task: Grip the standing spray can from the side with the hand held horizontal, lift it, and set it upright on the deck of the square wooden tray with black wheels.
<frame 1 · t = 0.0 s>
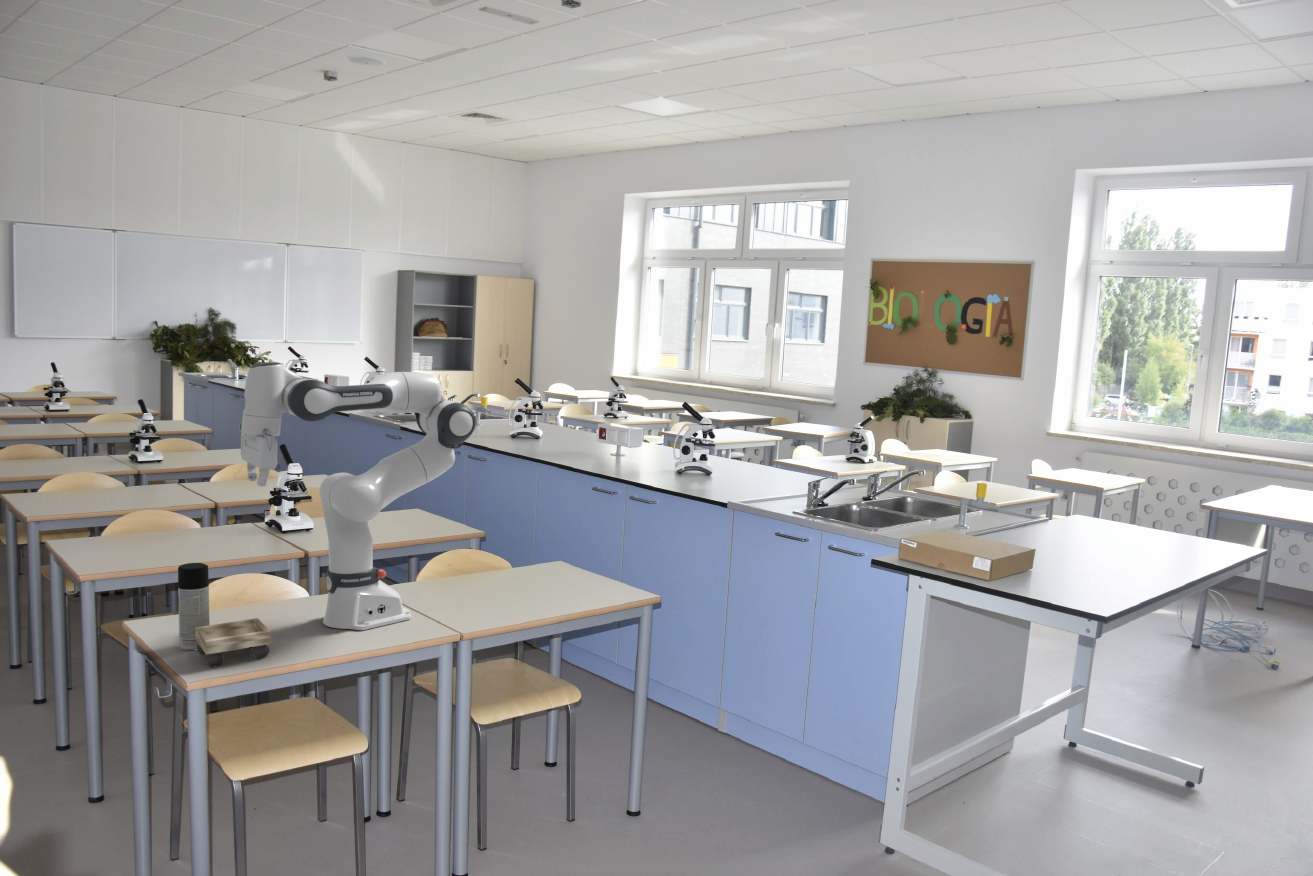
hand: (256, 483, 234), 39 cm above the table, tool pointing down, fingers open, 8 cm apart
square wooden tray: (232, 642, 223), point 3 cm above the table, slide at 0.0 cm
spray can: (195, 647, 229), on the table
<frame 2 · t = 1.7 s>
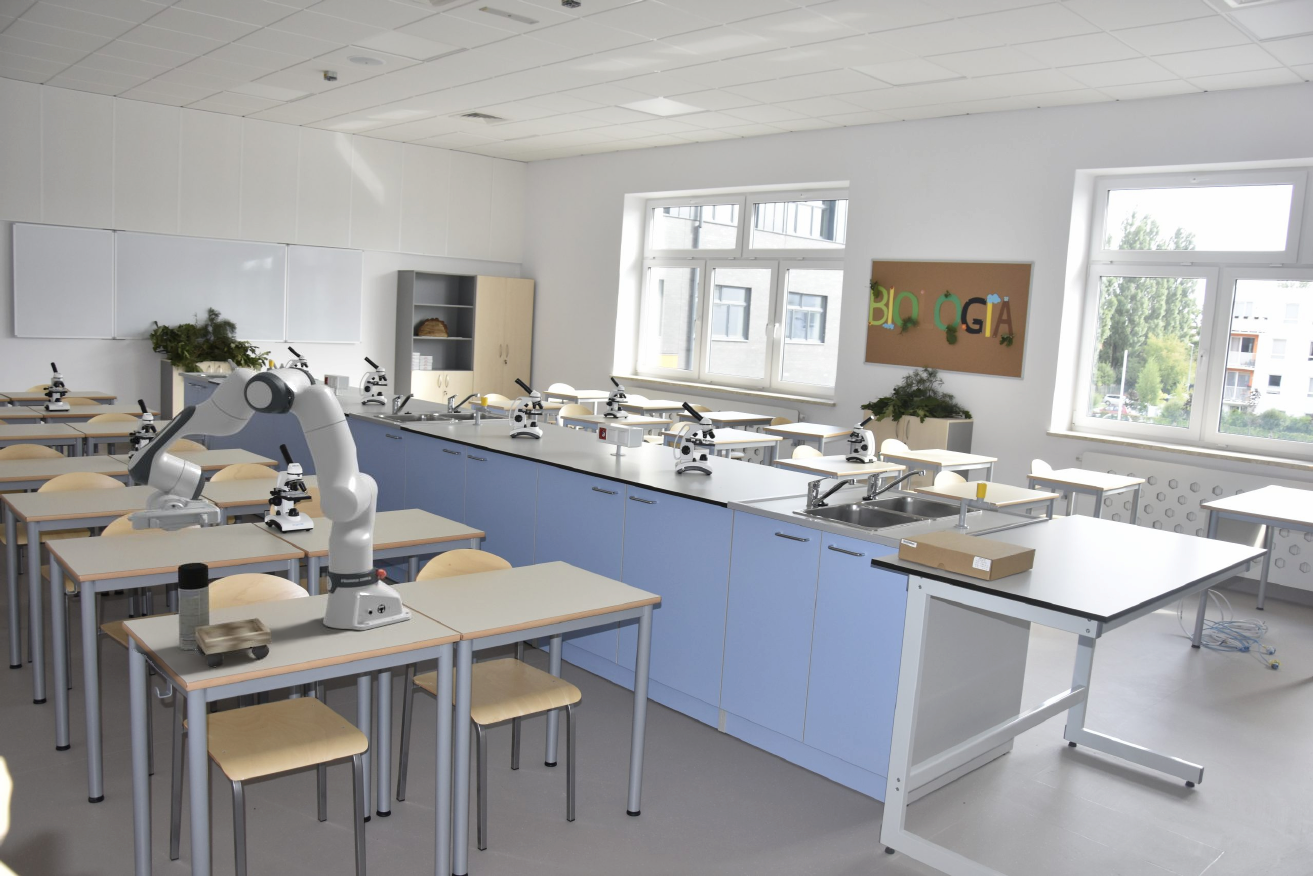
hand: (181, 523, 236), 28 cm above the table, tool horizontal, fingers open, 8 cm apart
nothing on the table moved.
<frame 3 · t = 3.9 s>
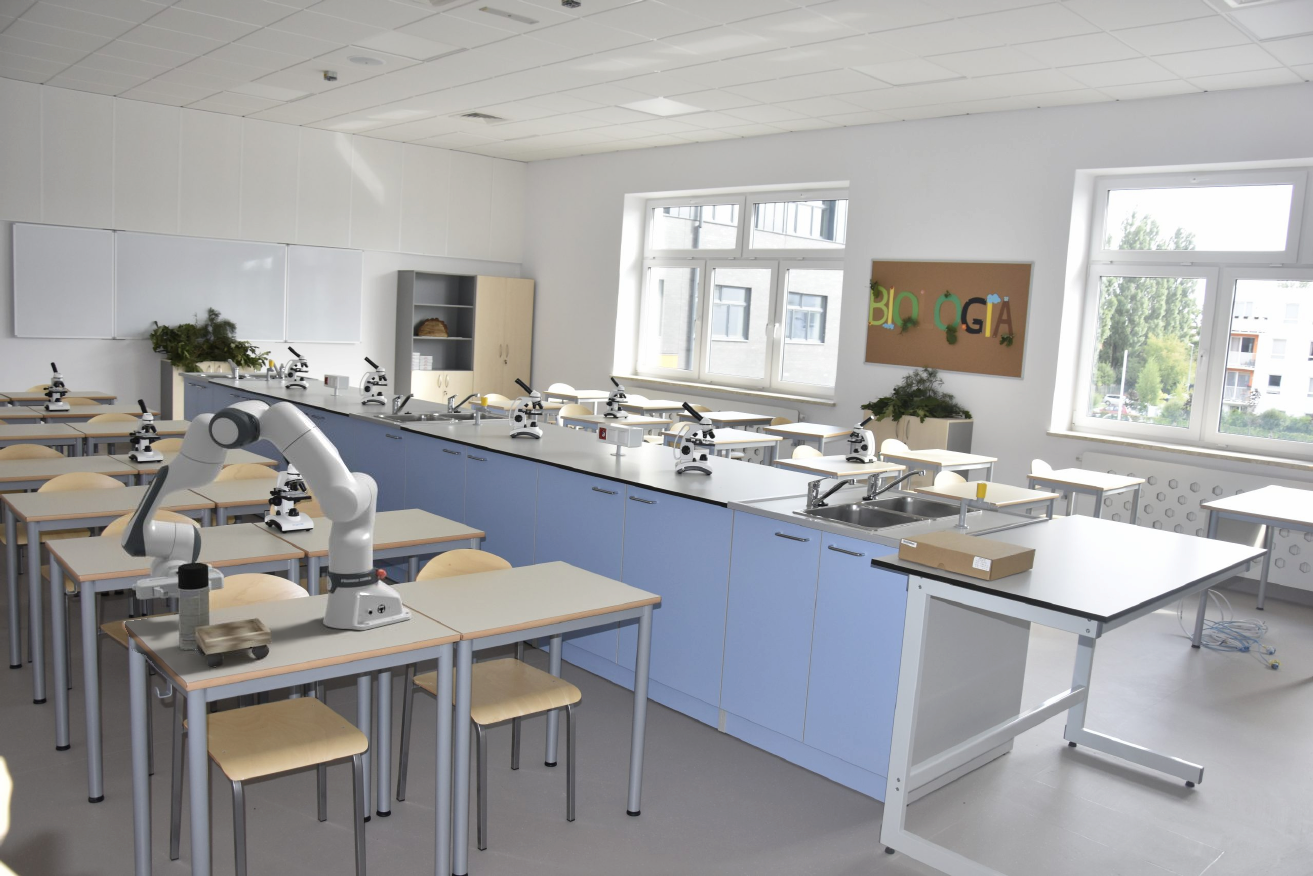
hand: (185, 592, 236), 11 cm above the table, tool horizontal, fingers open, 8 cm apart
nothing on the table moved.
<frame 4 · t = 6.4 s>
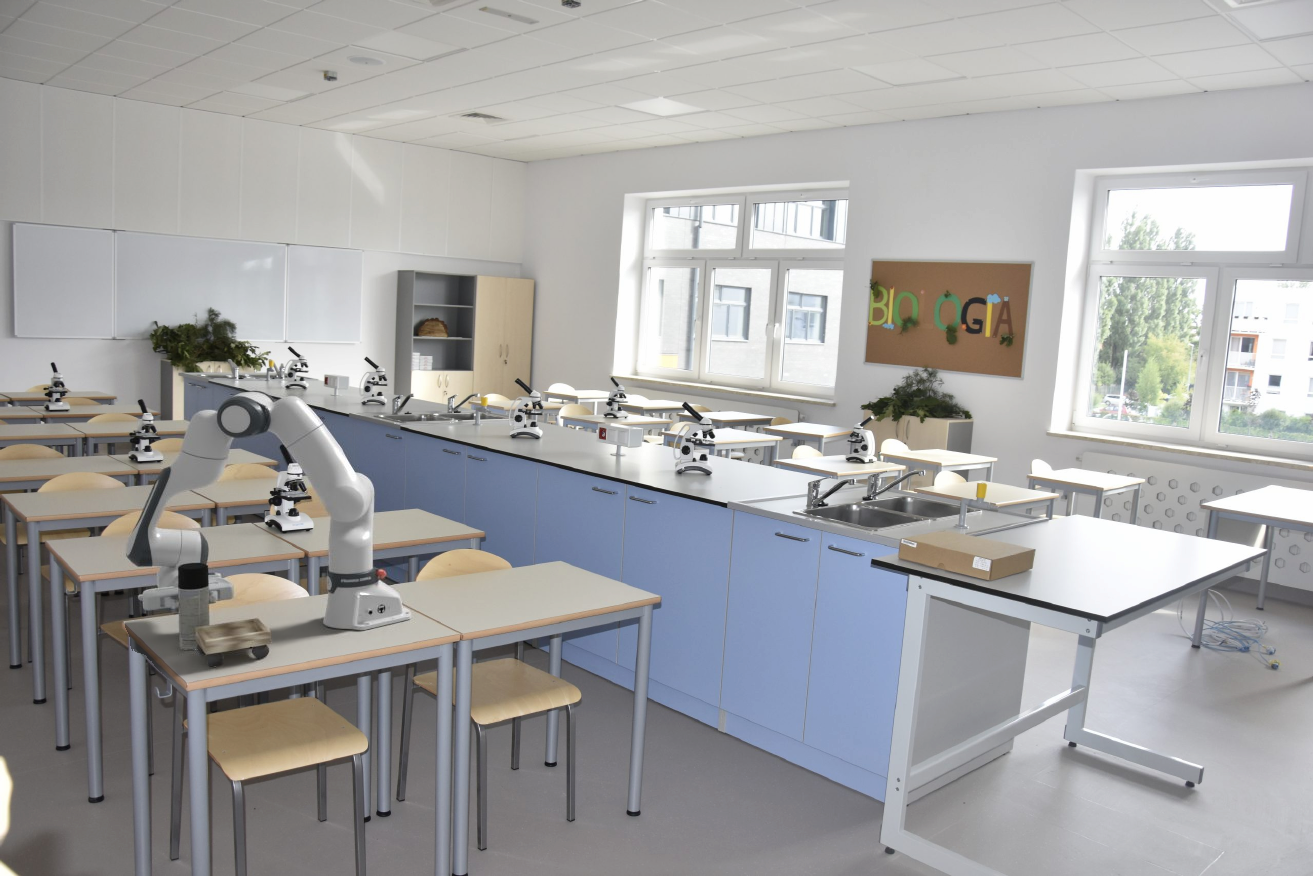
hand: (194, 602, 227), 11 cm above the table, tool horizontal, fingers closed on spray can, 7 cm apart
spray can: (195, 647, 229), on the table, touching gripper
everything else where it was.
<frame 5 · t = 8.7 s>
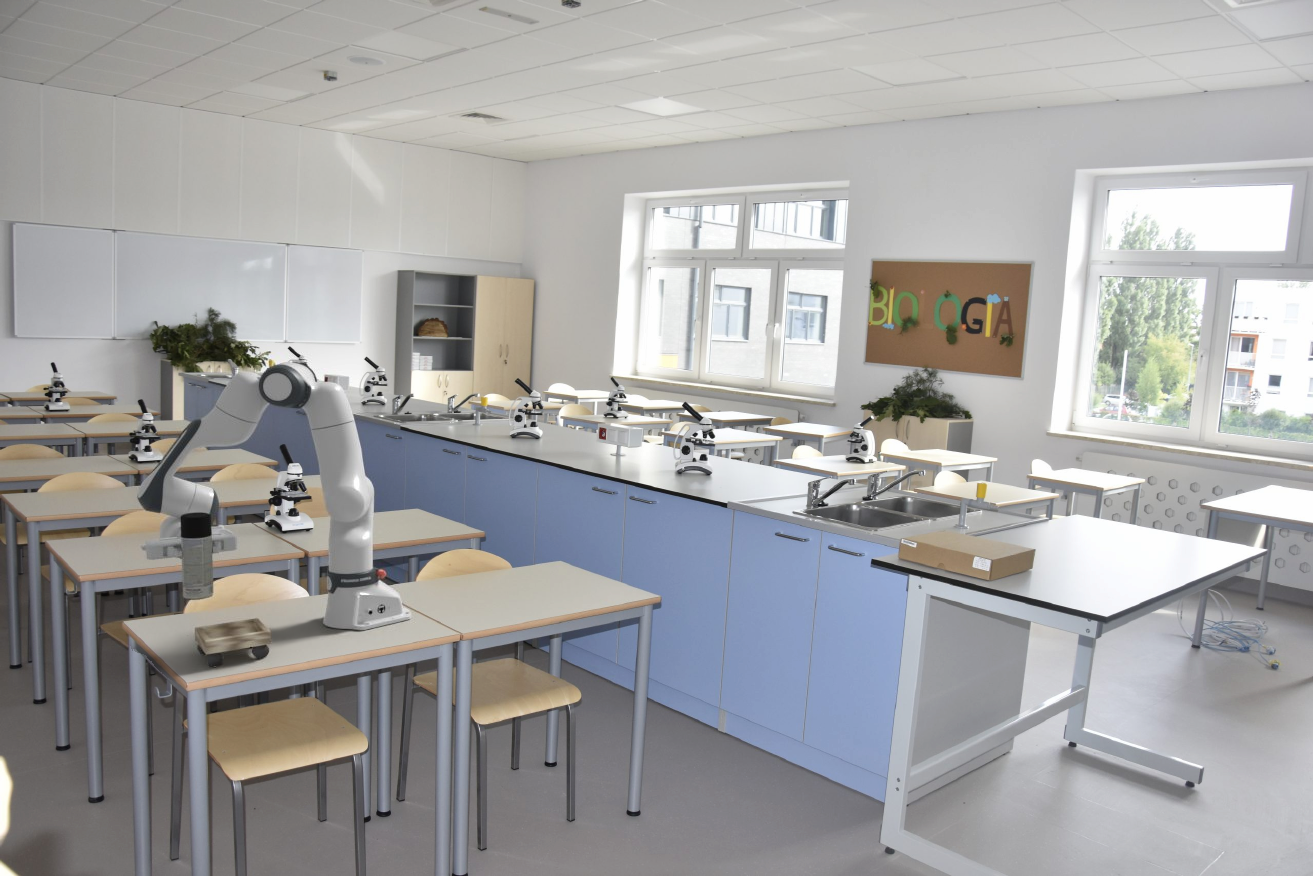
hand: (197, 552, 225), 24 cm above the table, tool horizontal, fingers closed on spray can, 7 cm apart
spray can: (198, 597, 227), point 12 cm above the table, touching gripper
everything else where it was.
when the fingers open (17 cm above the table, at t = 11.5 s): spray can drops 1 cm, resting on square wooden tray.
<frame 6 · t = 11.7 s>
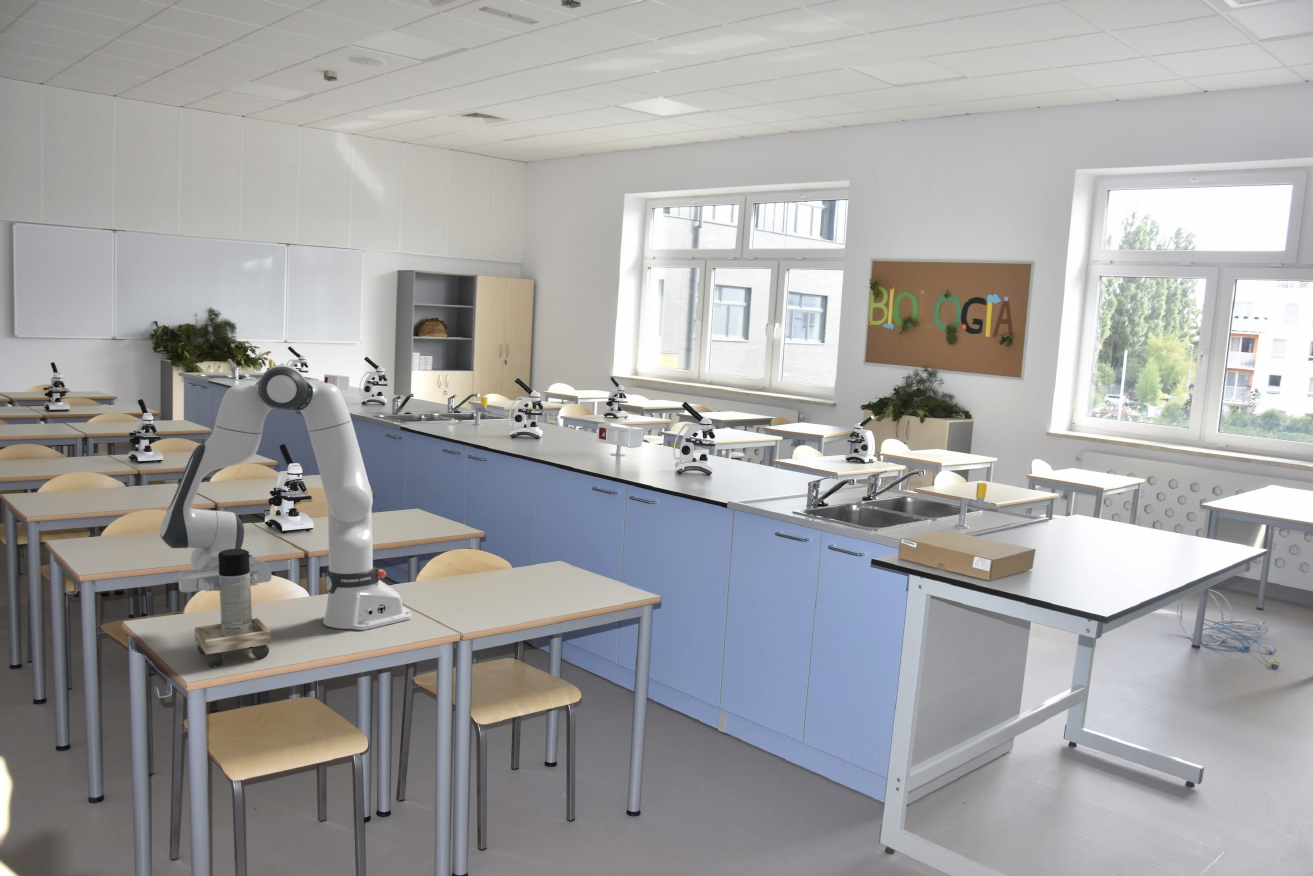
hand: (232, 584, 221), 17 cm above the table, tool horizontal, fingers open, 8 cm apart
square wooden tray: (232, 642, 223), point 3 cm above the table, slide at 0.0 cm, touching spray can
spray can: (237, 635, 223), point 5 cm above the table, touching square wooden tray, gripper
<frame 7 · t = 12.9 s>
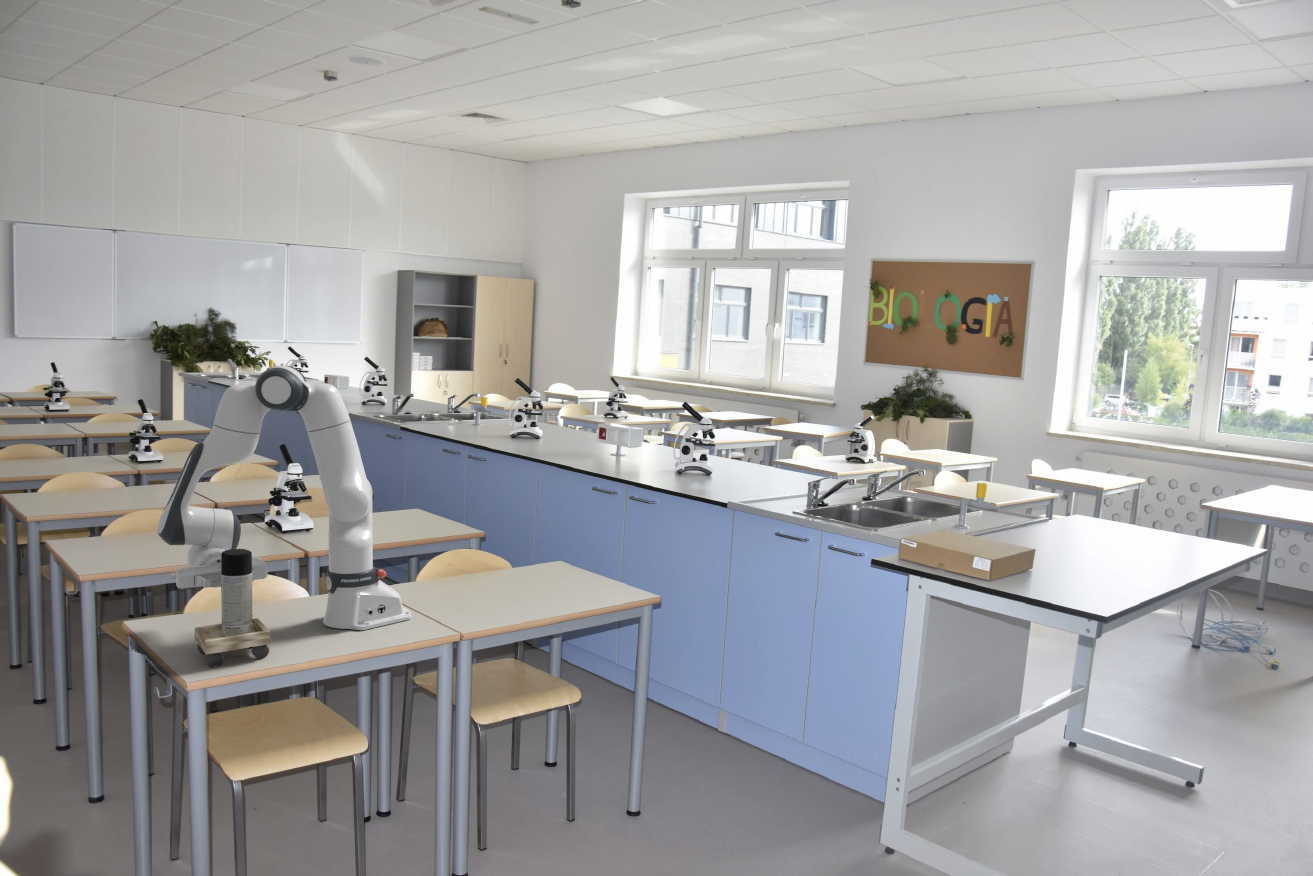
hand: (229, 581, 223), 18 cm above the table, tool horizontal, fingers open, 8 cm apart
spray can: (237, 635, 223), point 5 cm above the table, touching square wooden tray
everything else where it was.
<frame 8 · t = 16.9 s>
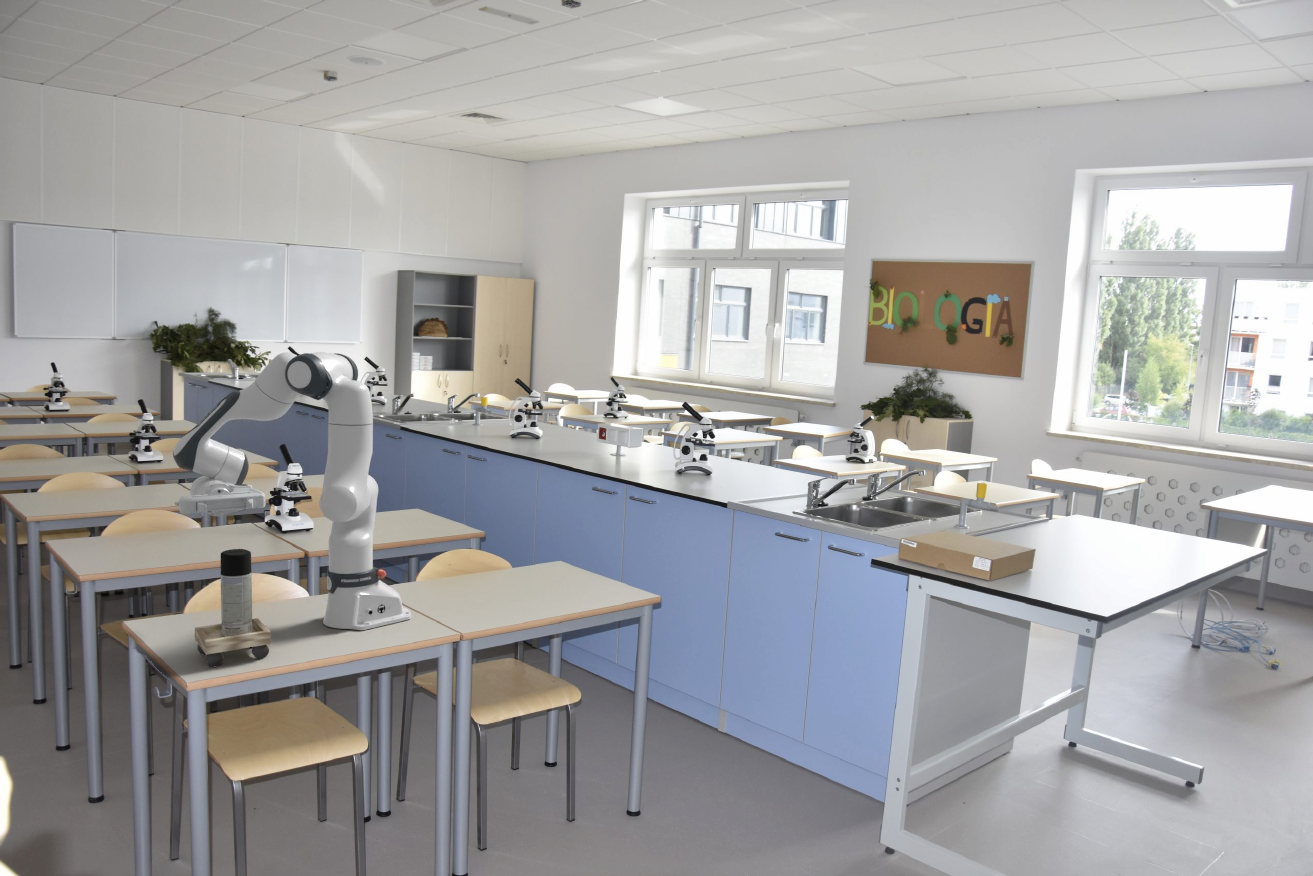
hand: (229, 507, 237), 32 cm above the table, tool horizontal, fingers open, 8 cm apart
nothing on the table moved.
at the end: spray can inside the target area on the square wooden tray (1.1 cm from its centre), point 4.8 cm above the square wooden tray's base; spray can tilted 0°; the gripper is holding nothing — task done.
